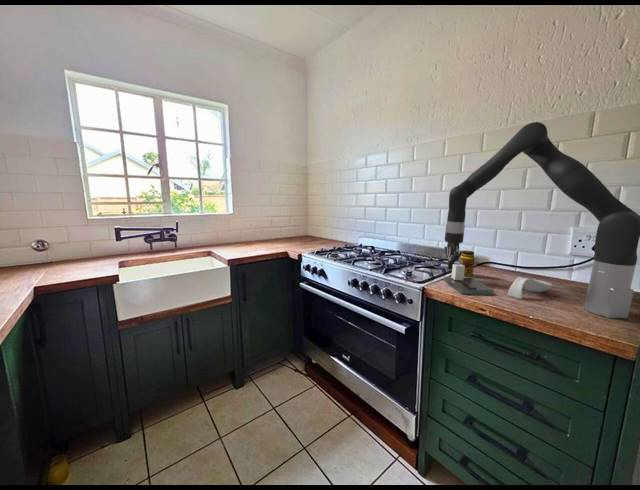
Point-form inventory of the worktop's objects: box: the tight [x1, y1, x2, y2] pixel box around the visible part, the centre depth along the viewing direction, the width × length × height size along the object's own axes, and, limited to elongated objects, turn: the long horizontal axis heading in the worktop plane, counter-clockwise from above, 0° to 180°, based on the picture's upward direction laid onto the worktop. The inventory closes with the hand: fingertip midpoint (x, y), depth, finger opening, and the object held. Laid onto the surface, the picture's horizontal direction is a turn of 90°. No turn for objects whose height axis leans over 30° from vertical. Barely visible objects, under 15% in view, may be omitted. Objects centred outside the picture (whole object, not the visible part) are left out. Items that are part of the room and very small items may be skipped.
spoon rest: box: [507, 276, 554, 300], centre depth 108 cm, size 24×12×7 cm, turn 124°
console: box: [444, 275, 495, 296], centre depth 113 cm, size 16×12×3 cm
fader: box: [450, 263, 465, 280], centre depth 117 cm, size 3×4×6 cm
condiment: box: [459, 250, 476, 279], centre depth 131 cm, size 7×8×12 cm
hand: (450, 268), depth 124 cm, fingers closed
